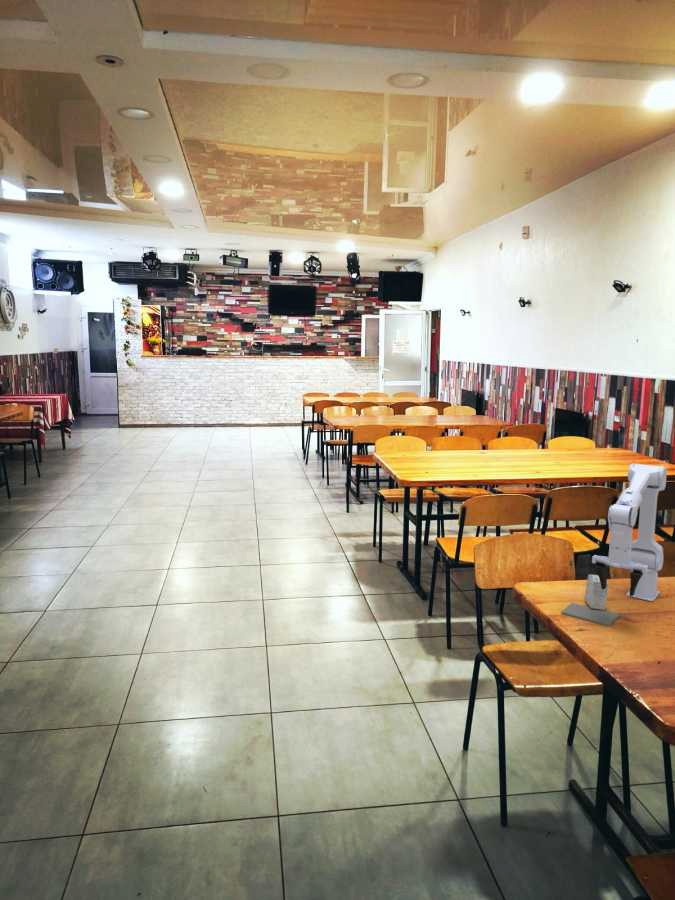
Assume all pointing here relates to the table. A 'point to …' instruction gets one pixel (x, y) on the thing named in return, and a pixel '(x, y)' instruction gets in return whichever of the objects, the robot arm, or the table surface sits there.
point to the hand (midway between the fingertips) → (617, 591)
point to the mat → (590, 614)
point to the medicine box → (595, 593)
